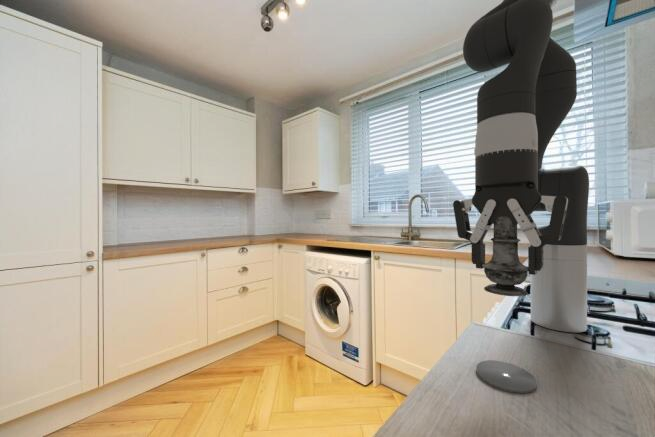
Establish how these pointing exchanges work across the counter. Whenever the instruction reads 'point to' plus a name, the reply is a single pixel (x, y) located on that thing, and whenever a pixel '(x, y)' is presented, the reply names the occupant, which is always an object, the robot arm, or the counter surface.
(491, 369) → the coaster
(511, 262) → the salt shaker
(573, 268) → the robot arm
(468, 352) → the counter surface
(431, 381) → the counter surface
